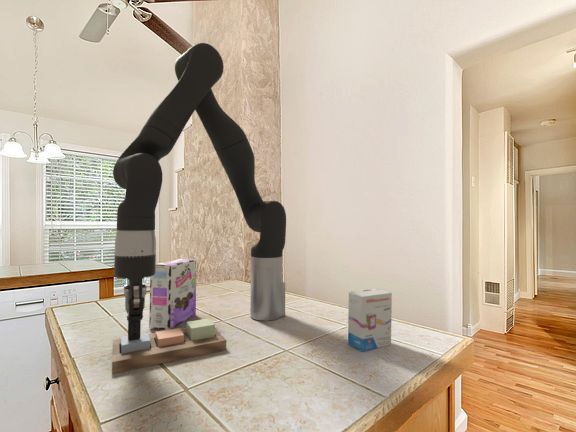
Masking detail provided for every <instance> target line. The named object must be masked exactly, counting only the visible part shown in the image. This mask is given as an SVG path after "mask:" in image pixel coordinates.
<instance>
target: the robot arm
mask: <svg viewBox="0 0 576 432" xmlns="http://www.w3.org/2000/svg"><path fill="white" fill-rule="evenodd" d="M174 72H175V76H176V78H177V83H176V84H175V86H173V88H172V89H171V90H170V92H169V93H167V94H166V96H165V97H164V99H163V100H161V102H160V103H159V104H158V105H157V107H156V108H155V109H154V110H153V112H152V113H151V114H150V116H149V118H148V119H147V120H146V122H145V123H144V126H142V128H141V130H140V132H139V134H138V135H137V136H136V138H135V139H134V140H133V141H132V142H131V143H130V144H129V145H128V146H127V148H126V149H125V150H124V151H123V152H122V153H121V155H120V156H119V157H118V158H117V160H116V162H115V163H114V167H113V170H112V177H113V180H114V182H115V183H116V184H117V186H118V187H120V188H121V189H123V190H125V193H124V194H125V195H124V200H123V201H122V202H120V203H119V204H118V207H117V210H116V235H115V240H114V268H113V269H114V270H113V276H114V278H116V279H121V280H122V279H123V280H125V279H127V280H128V282H127V283H128V284H126V285H125V284H124V285H123V294H124V295H123V296H124V307H125V312H126V313H127V315H126V321H127V336H128V340H129V341H132V340H138V339H140V334H141V330H142V329H141V328H142V327H141V324H142V323H141V322H142V320H143V318H144V309H145V307H146V305H145V304H146V301H145V300H146V296H147V286H146V284H145V283H143V279H144V278H150V277H151V276H153V275H155V273H156V264H157V263H156V262H157V237H156V209H157V205H158V202H159V200H160V199H159V198H160V194H161V190H162V184H163V170H162V165H161V164H160V162H159V161H160V160H162V158H164V157H166V156H168V155H169V154H170V152H171V151H172V150H173V148H174V146H175V145H176V143H177V141H178V140H179V137H180V136H181V134H182V133H183V130H184V129H185V127H186V125H187V123H188V121H190V119H191V117H192V115H193V114H194V112H196V113H197V115H198V118H199V119H200V120H199V121H200V122H201V123H202V126H203V128H204V129H205V132H206V134H207V135H208V138H209V140H210V141H211V144H212V146H213V149H214V151H215V153H216V156H217V157H218V159H219V161H220V164H221V166H222V167H223V169H224V171H225V173H226V175H227V178H228V180H229V182H230V184H231V187H232V189H233V191H234V194H235V196H236V198H237V201H238V203H239V206H240V207H239V208H240V210H241V212H242V215H243V218H244V221H245V222H246V225H247V226H248V228H249V229H251V230H252V231H253V232H255V233H260V234H259V239H258V242H256V243H255V244H254V245H252V246H251V248H250V307H249V308H250V310H249V311H250V318H251V319H254V320H257V321H275V320H279V319H281V318H282V317H286V283H285V282H284V281H283V251H284V249H285V246H286V234H287V214H286V213H287V212H286V209H285V207H284V205H283V204H282V203H281V202H279V201H276V200H263V199H262V196H261V195H260V193H259V190H258V188H257V187H258V186H257V185H256V181H255V175H256V172H255V171H256V170H255V169H256V165H255V164H256V162H255V159H256V158H255V154H254V152H253V148H252V146H251V144H250V142H249V139H248V137H247V134H246V133H245V131H244V130H243V128H242V127H241V126H240V125H239V124H238V123H237V122H236V121H235V120H234V119H233V118H231V117H230V116H229V115H228V114H227V112H226V111H224V110H223V108H222V107H221V106H220V104H219V102H218V100H217V97H216V96H215V94H214V92H213V90H212V88H213V87H214V85H216V84H217V82H218V81H219V80H220V79H221V78H222V76H223V73H224V61H223V58H222V55H221V53H220V52H219V51H218V50H217V49H216V48H215V47H214V46H213V45H211V44H209V43H207V42H206V43H205V42H199V43H196V44H194V45H192V46H190V47H189V48H188V49H187V50H186V51H184V52H183V53H182V54H181V55H180V56H179V57H177V58H176V60H175V63H174Z"/></svg>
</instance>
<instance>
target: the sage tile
mask: <svg viewBox="0 0 576 432" xmlns="http://www.w3.org/2000/svg"><path fill="white" fill-rule="evenodd" d="M215 326H216V324H215V323H214V322H213V321H212V320H211V319H210V318H203V319H197V320H191V321H186V328H187V337H188V338H189V340H190V341H193V340H199V339H204V338H210V337H215V329H216V327H215Z"/></svg>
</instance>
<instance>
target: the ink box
mask: <svg viewBox="0 0 576 432" xmlns="http://www.w3.org/2000/svg"><path fill="white" fill-rule="evenodd" d="M392 295H393V294H392V292H389V291H386V290H383V289H381V288H377V287H375V288H374V287H373V288H363V289H353V290H350V291H349V292H348V314H347V315H348V319H347V320H348V321H347V326H348V327H347V344H348V345H350V346H351V347H354V348H355V349H356V350H358V351H361V352H362V353H363V352H367V351H371V350H376V349H379V348H383V347H388V346H391V345H392V311H393V310H392V306H393V305H392V301H393V298H392V297H393V296H392Z"/></svg>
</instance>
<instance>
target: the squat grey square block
mask: <svg viewBox="0 0 576 432" xmlns="http://www.w3.org/2000/svg"><path fill="white" fill-rule="evenodd" d="M148 334H149V333H148V332H144V333H143V332H142V333H140V339H138V340H132V341H129V340H128V335H123V336H120V339H121V353H120V354H122V353H128V352H133V351H139V350H144V349H150V338H149V335H148Z"/></svg>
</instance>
